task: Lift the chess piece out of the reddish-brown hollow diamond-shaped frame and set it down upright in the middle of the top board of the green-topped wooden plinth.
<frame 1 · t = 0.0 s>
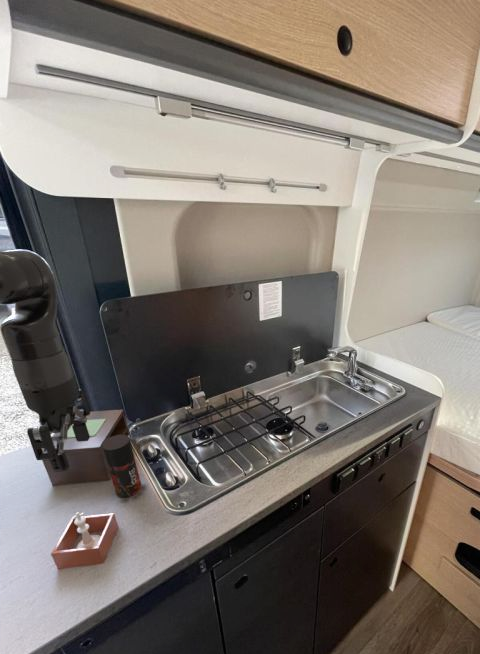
hand: (73, 454, 61), 23 cm above the table, tool pointing down, fingers open, 8 cm apart
green-topped wooden plinth: (95, 460, 94), on the table
chess piece: (90, 547, 70), resting in reddish-brown hollow diamond-shaped frame
reddish-brown hollow diamond-shaped frame: (90, 546, 69), on the table
deodorant: (129, 489, 84), on the table
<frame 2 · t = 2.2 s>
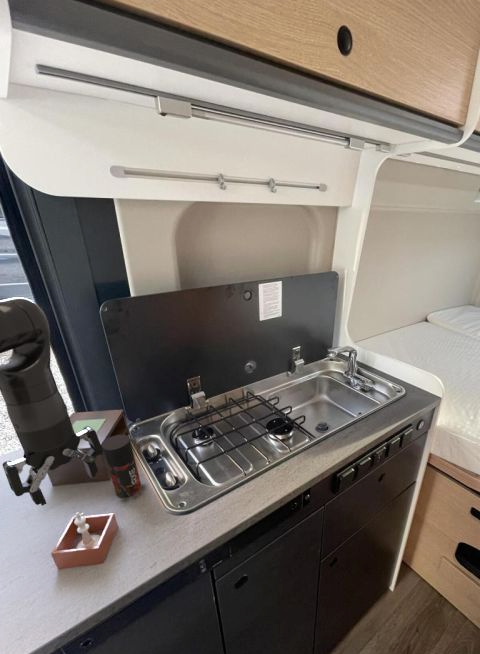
hand: (68, 488, 63), 16 cm above the table, tool pointing down, fingers open, 8 cm apart
nothing on the table moved.
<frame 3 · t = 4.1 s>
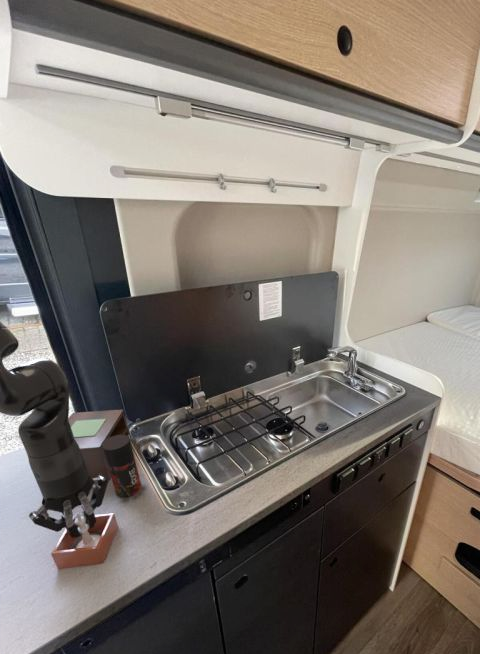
hand: (83, 530, 67), 5 cm above the table, tool pointing down, fingers closed on chess piece
chess piece: (90, 547, 70), resting in reddish-brown hollow diamond-shaped frame, touching gripper
everything else where it was.
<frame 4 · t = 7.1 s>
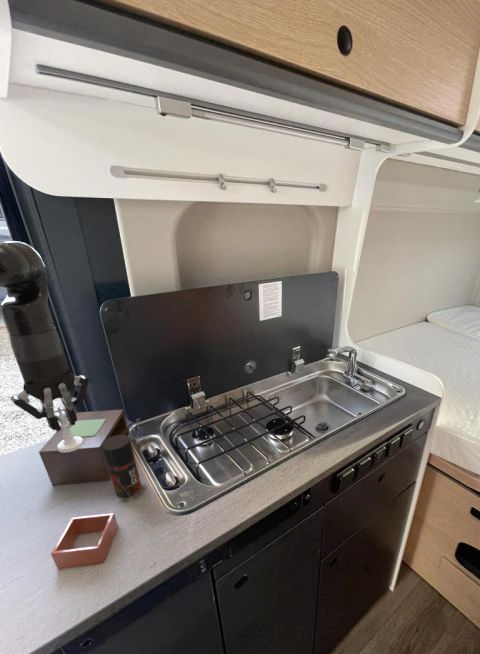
hand: (64, 426, 70), 23 cm above the table, tool pointing down, fingers closed on chess piece
chess piece: (71, 446, 72), point 17 cm above the table, touching gripper
everything else where it was.
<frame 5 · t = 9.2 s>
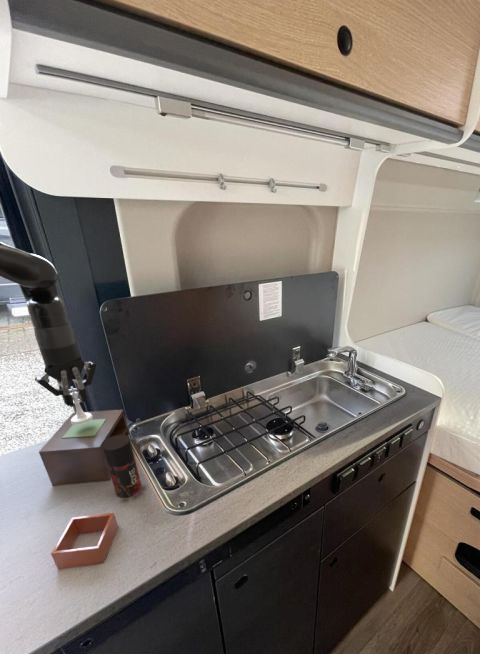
hand: (76, 403, 86), 19 cm above the table, tool pointing down, fingers closed on chess piece
chess piece: (82, 420, 88), point 14 cm above the table, touching gripper
everything else where it was.
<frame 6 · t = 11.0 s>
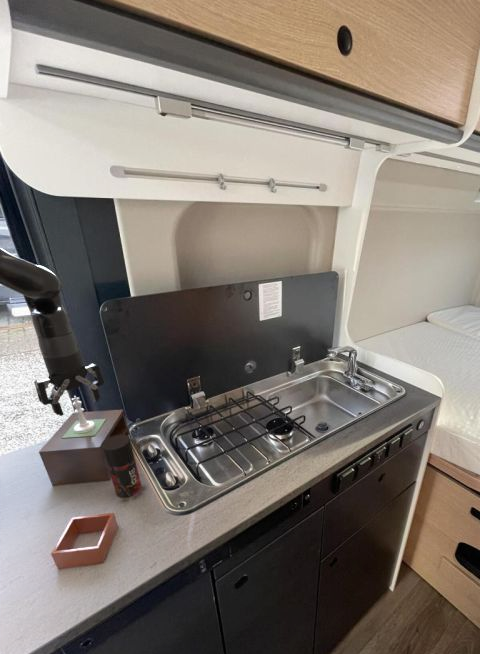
hand: (78, 407, 87), 18 cm above the table, tool pointing down, fingers open, 8 cm apart
chess piece: (85, 428, 89), point 11 cm above the table, touching green-topped wooden plinth
everything else where it was.
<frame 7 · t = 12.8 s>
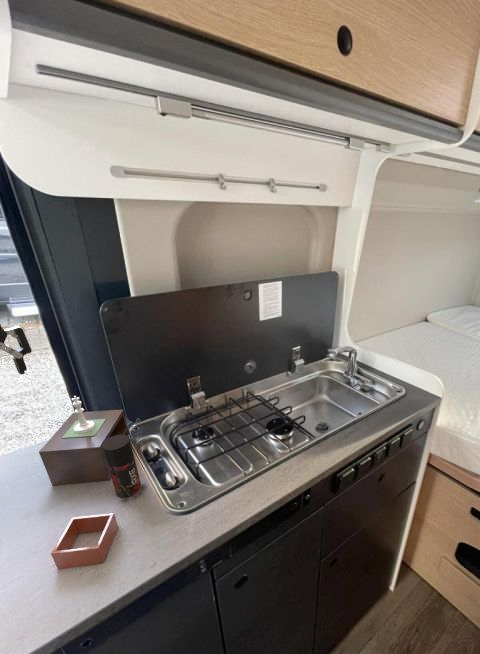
nothing on the table moved.
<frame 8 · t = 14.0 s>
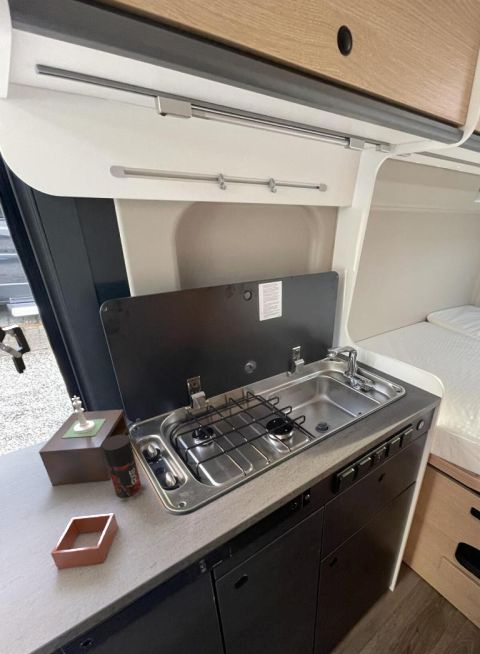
nothing on the table moved.
at the end: chess piece inside the target area on the green-topped wooden plinth (0.1 cm from its centre), point 11.0 cm above the green-topped wooden plinth's base; chess piece tilted 0°; the gripper is holding nothing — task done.
